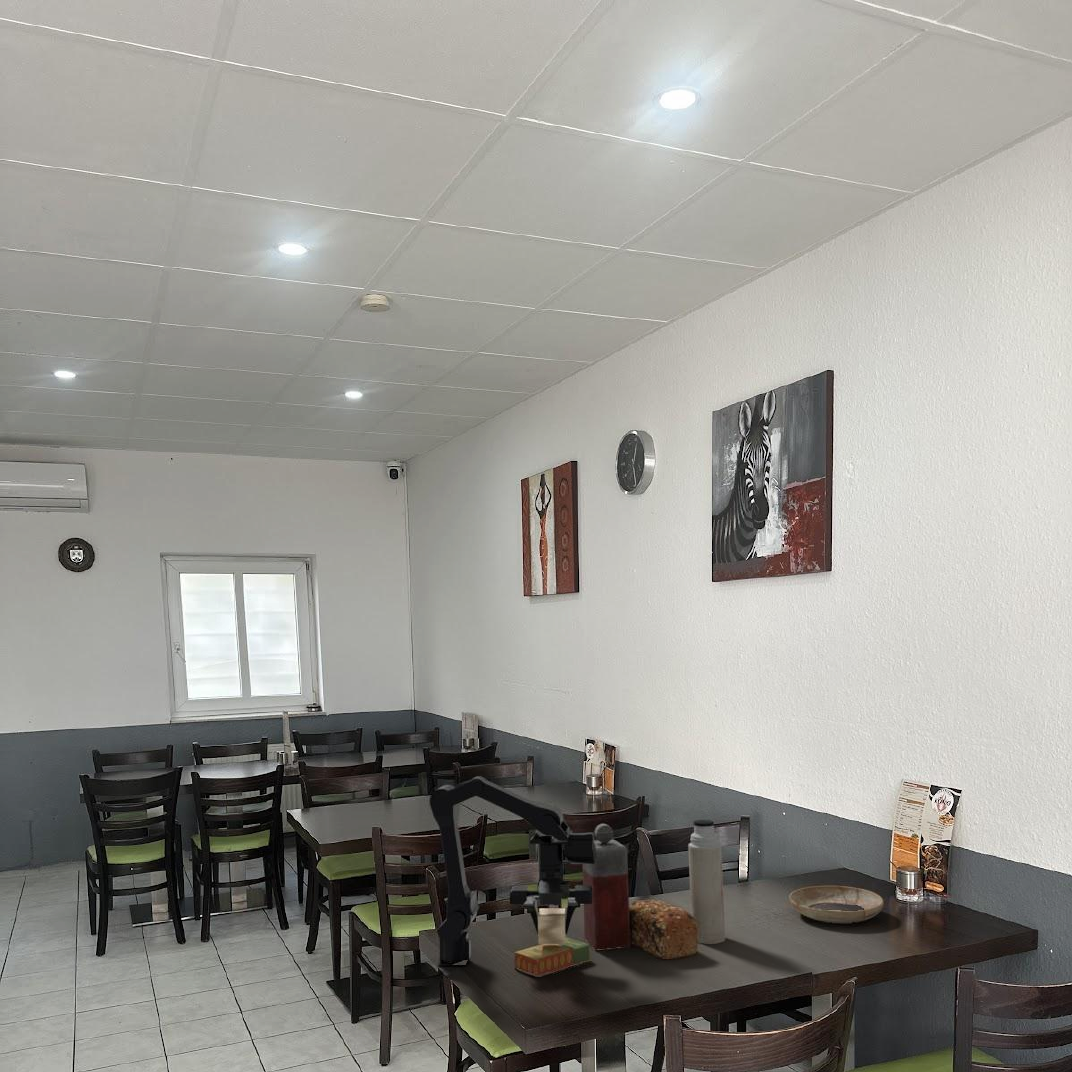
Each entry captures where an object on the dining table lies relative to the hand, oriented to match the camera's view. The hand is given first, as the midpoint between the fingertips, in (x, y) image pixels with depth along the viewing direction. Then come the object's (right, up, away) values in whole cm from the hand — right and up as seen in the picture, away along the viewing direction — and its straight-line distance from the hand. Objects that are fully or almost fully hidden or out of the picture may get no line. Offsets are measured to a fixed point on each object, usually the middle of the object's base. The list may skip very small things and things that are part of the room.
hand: (552, 933), depth 215 cm
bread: (+26, -8, +10) cm, 29 cm away
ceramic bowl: (+74, -9, +30) cm, 81 cm away
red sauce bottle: (+13, -8, +14) cm, 21 cm away
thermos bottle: (+38, -8, +15) cm, 42 cm away
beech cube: (0, -1, 0) cm, 1 cm away
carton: (0, -7, -1) cm, 7 cm away
